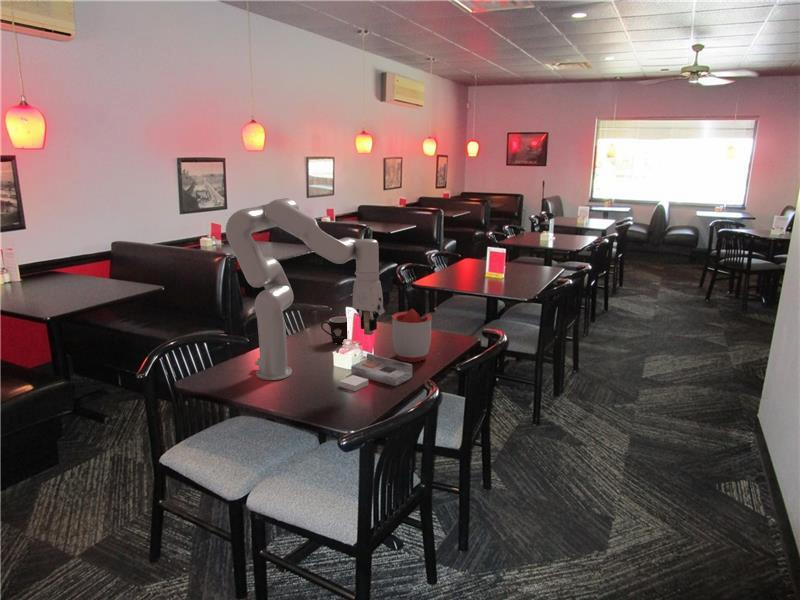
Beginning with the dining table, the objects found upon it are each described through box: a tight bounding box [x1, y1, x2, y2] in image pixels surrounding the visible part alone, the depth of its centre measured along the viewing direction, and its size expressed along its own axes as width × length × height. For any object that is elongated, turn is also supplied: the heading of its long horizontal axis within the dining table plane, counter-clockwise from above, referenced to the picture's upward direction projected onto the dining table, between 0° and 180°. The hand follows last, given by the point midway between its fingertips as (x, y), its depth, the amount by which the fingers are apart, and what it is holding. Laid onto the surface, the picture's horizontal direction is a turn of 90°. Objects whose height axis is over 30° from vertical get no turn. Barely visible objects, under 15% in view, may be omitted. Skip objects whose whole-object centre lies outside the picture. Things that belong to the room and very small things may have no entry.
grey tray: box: [350, 352, 413, 387], centre depth 202 cm, size 20×10×5 cm, turn 55°
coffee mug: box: [320, 316, 348, 345], centre depth 239 cm, size 12×9×10 cm
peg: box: [363, 311, 374, 336], centre depth 191 cm, size 3×3×8 cm
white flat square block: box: [339, 374, 369, 392], centre depth 193 cm, size 7×7×2 cm
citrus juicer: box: [391, 308, 433, 363], centre depth 219 cm, size 16×17×20 cm
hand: (368, 328), depth 191 cm, fingers closed on peg, 3 cm apart
